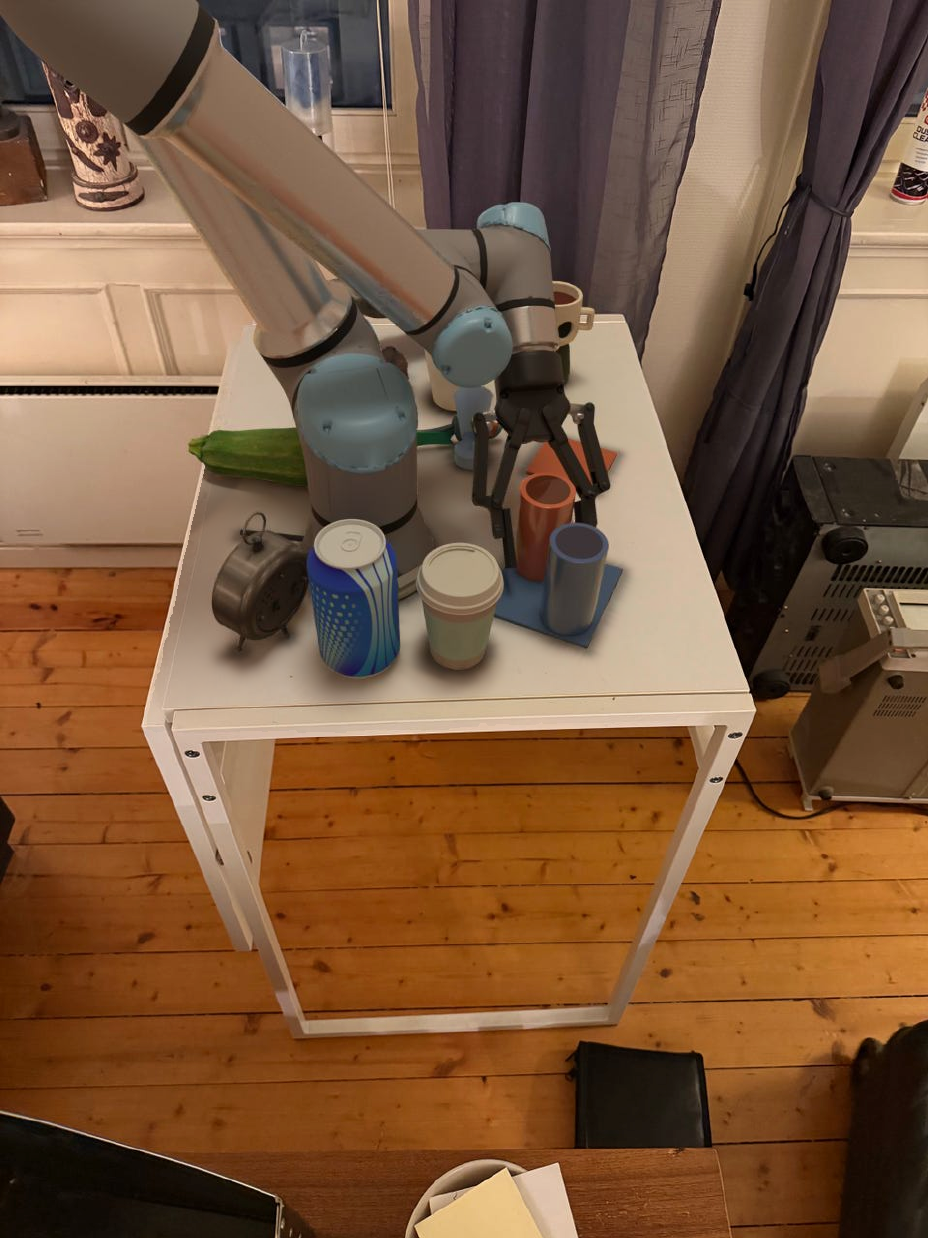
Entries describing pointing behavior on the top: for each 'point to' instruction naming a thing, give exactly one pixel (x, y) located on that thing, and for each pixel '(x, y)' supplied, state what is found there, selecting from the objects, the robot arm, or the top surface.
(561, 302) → the character mug
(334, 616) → the beer can
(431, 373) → the cup
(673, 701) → the top surface
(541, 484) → the terracotta tumbler
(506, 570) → the blue mat
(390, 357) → the stone
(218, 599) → the alarm clock
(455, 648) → the coffee cup
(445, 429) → the knife
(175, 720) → the top surface
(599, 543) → the blue tumbler
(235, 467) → the vegetable
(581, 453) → the terracotta mat
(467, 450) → the spotlight
